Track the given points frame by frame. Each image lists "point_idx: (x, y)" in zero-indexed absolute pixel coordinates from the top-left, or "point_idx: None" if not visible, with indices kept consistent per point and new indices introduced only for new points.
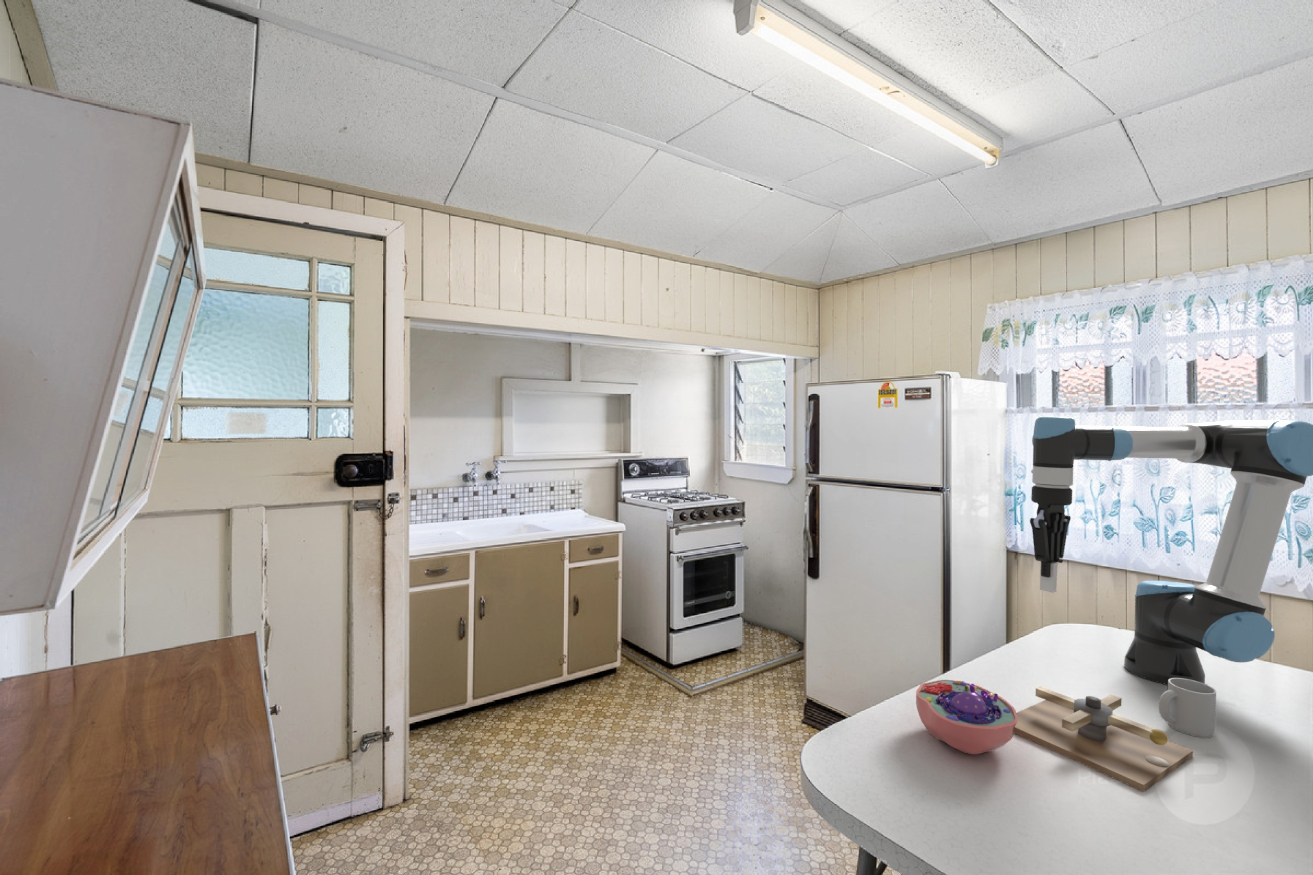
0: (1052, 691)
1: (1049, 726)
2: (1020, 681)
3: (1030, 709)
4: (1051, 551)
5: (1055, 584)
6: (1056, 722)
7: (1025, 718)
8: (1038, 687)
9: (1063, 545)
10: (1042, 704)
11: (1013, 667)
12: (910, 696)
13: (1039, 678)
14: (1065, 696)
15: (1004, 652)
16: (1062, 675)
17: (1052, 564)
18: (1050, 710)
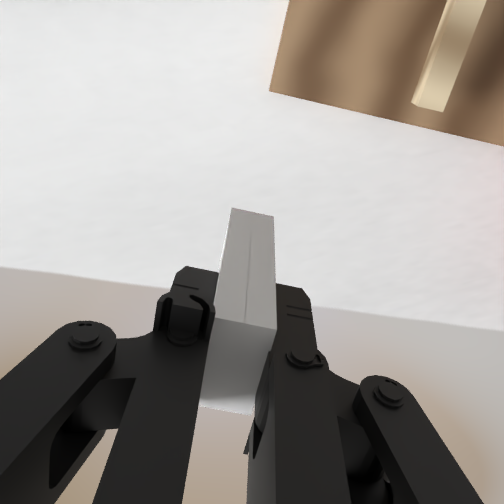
0: (434, 68)
1: (482, 49)
2: (194, 183)
3: (402, 113)
4: (332, 441)
5: (240, 231)
6: None
7: (471, 107)
8: (430, 107)
9: (3, 426)
10: (346, 98)
11: (111, 221)
12: (481, 323)
13: (129, 154)
14: (451, 27)
15: (24, 265)
16: (48, 113)
17: (275, 332)
18: (371, 72)
